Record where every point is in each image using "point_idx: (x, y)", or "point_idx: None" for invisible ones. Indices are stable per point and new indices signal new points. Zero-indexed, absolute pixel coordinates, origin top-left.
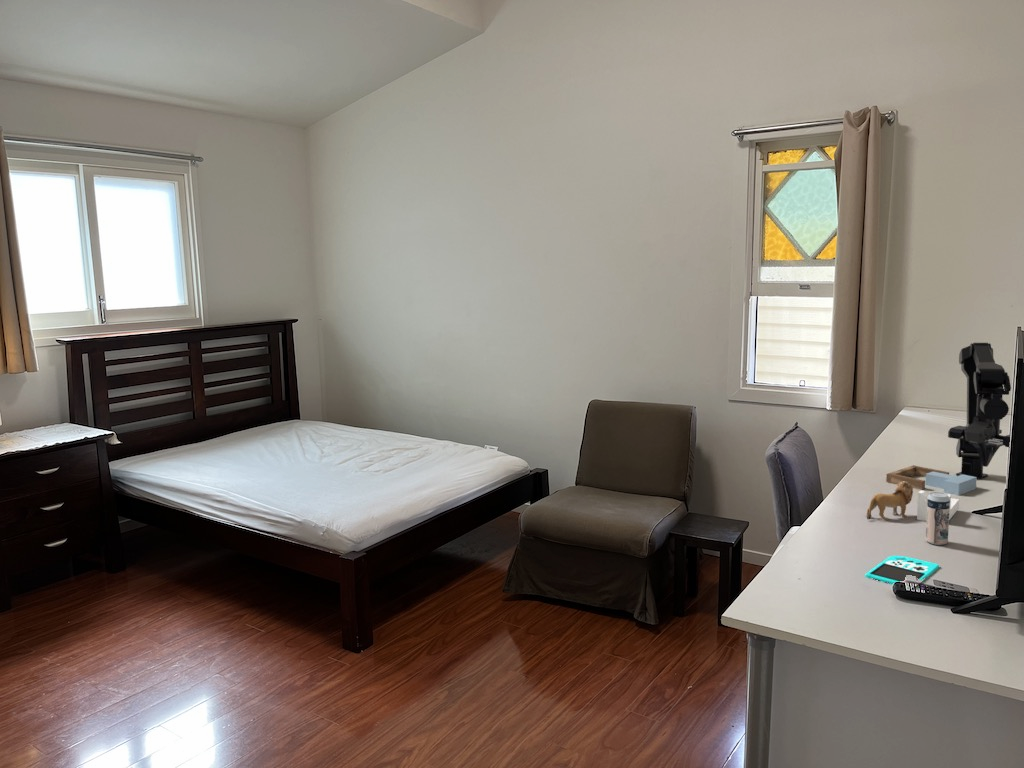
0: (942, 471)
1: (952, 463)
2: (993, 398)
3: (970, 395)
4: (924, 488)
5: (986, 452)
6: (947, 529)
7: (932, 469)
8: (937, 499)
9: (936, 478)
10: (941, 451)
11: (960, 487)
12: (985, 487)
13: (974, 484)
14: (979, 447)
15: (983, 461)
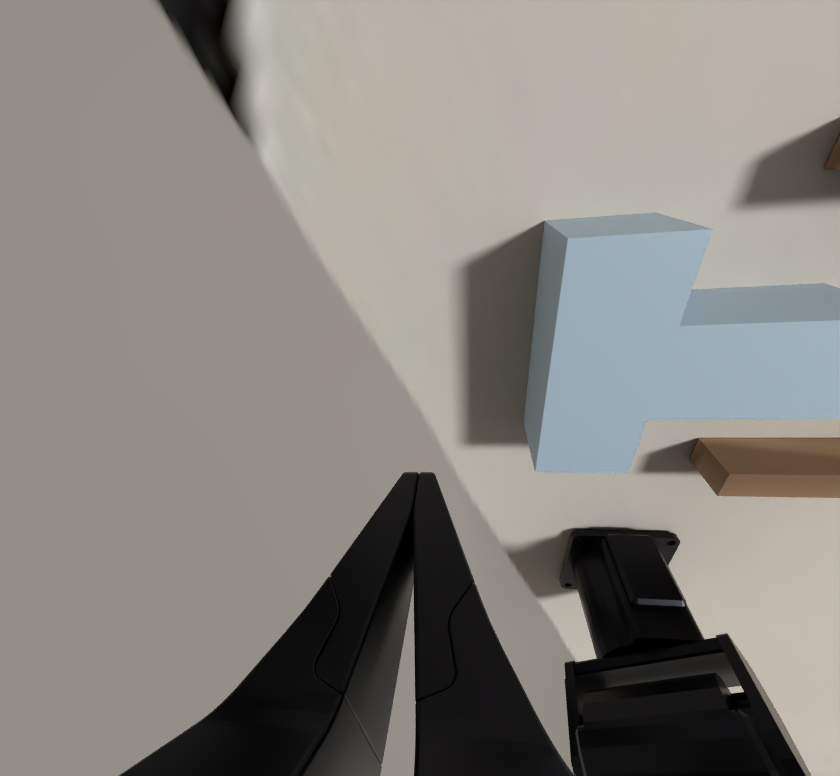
0: (762, 489)
1: (725, 632)
2: None
3: None
4: (832, 160)
5: (342, 643)
6: None
7: (835, 490)
8: None
9: (789, 312)
10: (788, 697)
11: (553, 261)
12: (499, 464)
13: (530, 426)
14: (453, 761)
15: (420, 509)
